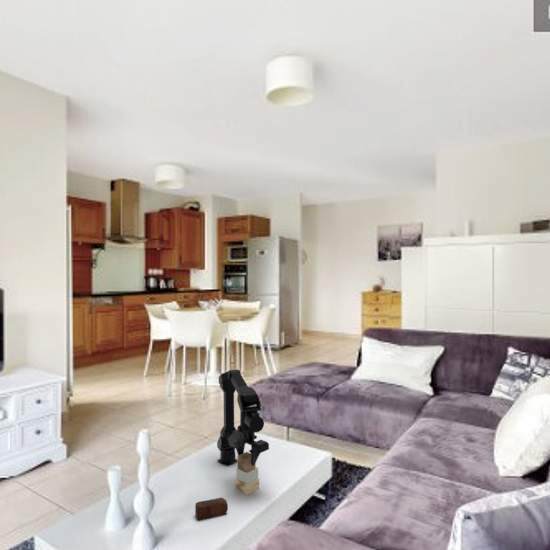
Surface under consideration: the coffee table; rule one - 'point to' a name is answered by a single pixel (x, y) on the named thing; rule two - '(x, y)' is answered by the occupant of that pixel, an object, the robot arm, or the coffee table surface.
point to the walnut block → (245, 462)
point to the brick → (210, 508)
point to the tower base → (247, 486)
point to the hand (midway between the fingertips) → (246, 462)
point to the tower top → (247, 475)
